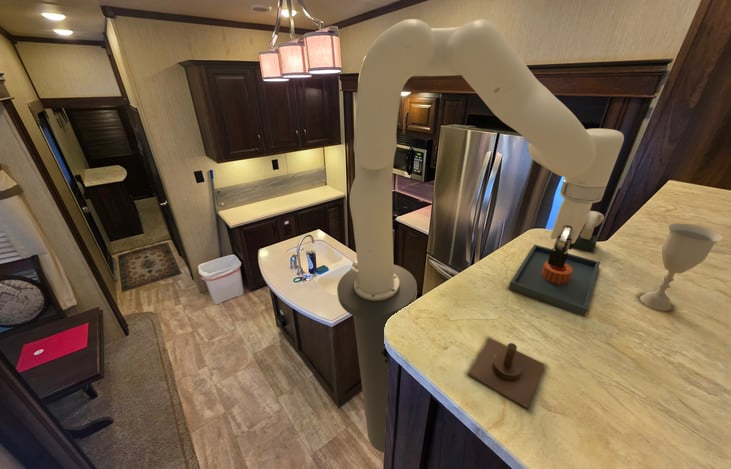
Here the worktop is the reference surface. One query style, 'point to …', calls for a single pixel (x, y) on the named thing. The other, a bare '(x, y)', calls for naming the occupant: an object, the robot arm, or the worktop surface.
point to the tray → (560, 295)
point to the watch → (589, 232)
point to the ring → (557, 273)
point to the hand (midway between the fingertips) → (559, 256)
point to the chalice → (680, 258)
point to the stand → (507, 371)
